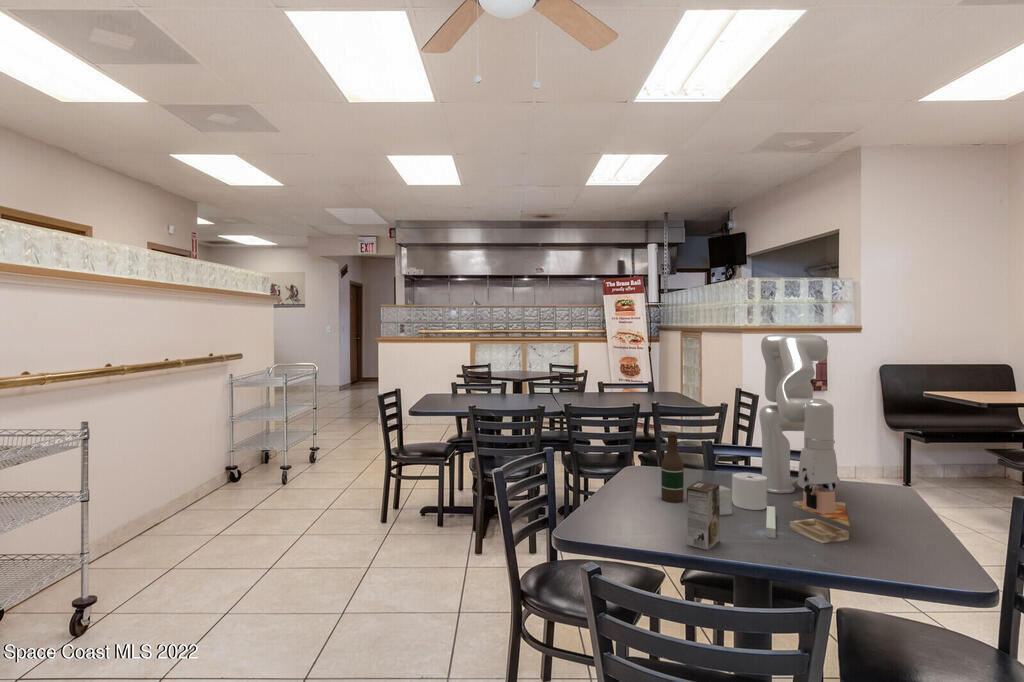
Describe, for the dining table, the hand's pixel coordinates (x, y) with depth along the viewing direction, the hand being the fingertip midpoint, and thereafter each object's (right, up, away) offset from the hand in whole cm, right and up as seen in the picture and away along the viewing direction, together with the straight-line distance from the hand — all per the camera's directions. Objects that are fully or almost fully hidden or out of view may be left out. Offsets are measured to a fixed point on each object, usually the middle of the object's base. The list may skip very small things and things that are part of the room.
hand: (818, 506), depth 161 cm
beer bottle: (-33, -8, +35) cm, 48 cm away
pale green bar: (-10, -8, +8) cm, 15 cm away
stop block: (0, -1, 0) cm, 1 cm away
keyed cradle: (0, -8, 0) cm, 8 cm away
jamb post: (-21, -8, +20) cm, 30 cm away
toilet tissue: (-9, -8, +28) cm, 30 cm away
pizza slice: (+11, -9, +20) cm, 24 cm away
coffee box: (-36, -9, -6) cm, 37 cm away
